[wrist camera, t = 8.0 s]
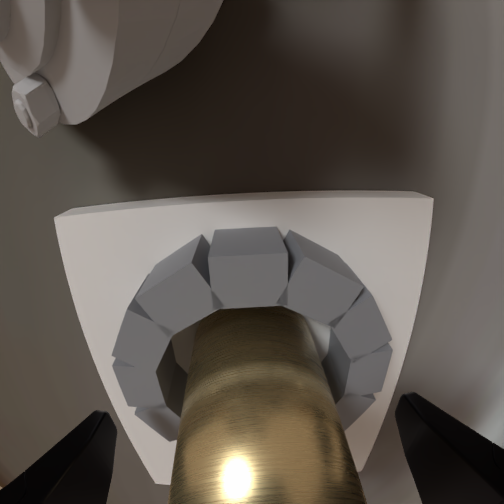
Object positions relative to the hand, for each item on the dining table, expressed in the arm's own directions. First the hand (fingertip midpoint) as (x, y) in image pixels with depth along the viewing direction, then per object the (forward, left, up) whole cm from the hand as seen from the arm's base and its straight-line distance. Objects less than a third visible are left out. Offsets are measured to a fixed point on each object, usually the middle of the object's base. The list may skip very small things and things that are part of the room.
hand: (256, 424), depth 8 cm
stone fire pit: (0, +3, -6) cm, 7 cm away
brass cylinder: (0, 0, -4) cm, 4 cm away
